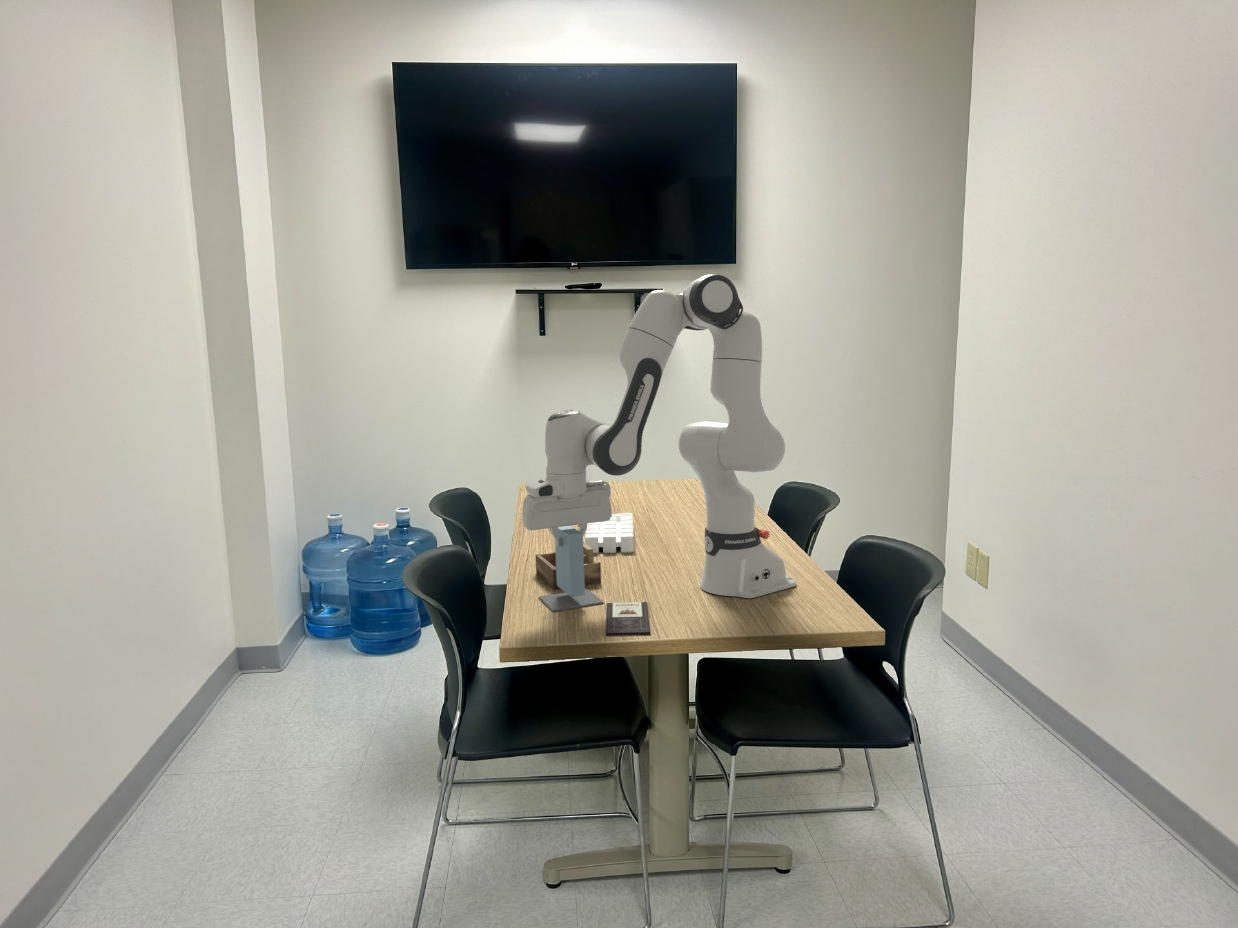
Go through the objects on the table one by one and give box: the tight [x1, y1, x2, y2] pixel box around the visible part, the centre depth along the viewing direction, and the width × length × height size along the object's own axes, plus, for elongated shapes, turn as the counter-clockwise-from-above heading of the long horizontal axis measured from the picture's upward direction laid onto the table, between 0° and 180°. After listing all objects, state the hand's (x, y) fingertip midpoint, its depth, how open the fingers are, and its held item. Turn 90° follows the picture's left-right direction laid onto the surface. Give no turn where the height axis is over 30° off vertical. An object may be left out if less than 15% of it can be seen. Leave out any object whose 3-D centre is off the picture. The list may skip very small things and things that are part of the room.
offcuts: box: [583, 541, 595, 564], centre depth 203 cm, size 4×10×6 cm, turn 23°
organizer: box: [584, 512, 635, 554], centre depth 241 cm, size 13×5×35 cm
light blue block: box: [554, 525, 586, 597], centre depth 184 cm, size 3×10×14 cm, turn 23°
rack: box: [535, 551, 602, 591], centre depth 202 cm, size 12×14×5 cm
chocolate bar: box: [605, 601, 652, 637], centre depth 174 cm, size 9×1×18 cm
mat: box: [538, 588, 605, 613], centre depth 186 cm, size 12×10×1 cm
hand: (568, 544), depth 184 cm, fingers closed on light blue block, 3 cm apart
